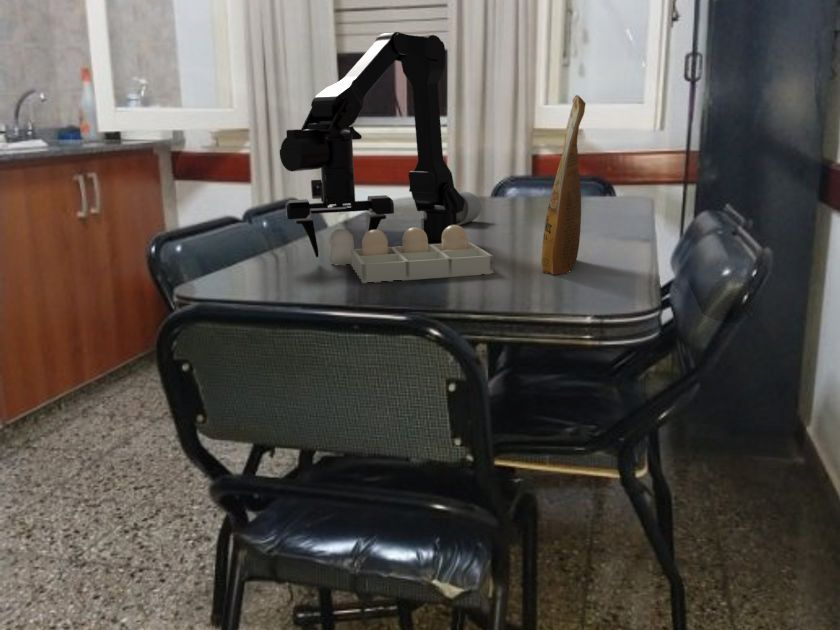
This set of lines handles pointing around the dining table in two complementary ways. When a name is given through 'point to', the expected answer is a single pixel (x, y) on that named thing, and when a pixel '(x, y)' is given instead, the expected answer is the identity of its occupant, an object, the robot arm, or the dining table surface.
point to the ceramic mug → (468, 208)
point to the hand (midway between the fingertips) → (342, 255)
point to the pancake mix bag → (565, 203)
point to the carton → (419, 257)
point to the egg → (340, 247)
